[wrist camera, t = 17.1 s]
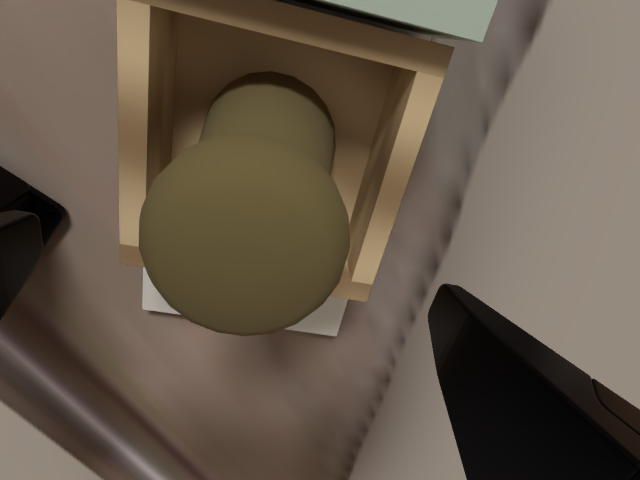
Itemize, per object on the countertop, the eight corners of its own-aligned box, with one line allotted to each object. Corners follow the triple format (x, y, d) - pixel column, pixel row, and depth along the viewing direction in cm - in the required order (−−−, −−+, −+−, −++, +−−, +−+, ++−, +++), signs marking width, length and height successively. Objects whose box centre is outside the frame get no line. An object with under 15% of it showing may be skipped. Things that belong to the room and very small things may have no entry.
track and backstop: (335, 328, 26) (345, 409, 21) (146, 301, 25) (103, 381, 19) (438, -1, 18) (502, -12, 12) (156, -80, 16) (80, -134, 10)
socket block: (354, 253, 23) (366, 301, 19) (153, 218, 21) (119, 263, 17) (419, 41, 18) (454, 47, 14) (161, -26, 16) (116, -41, 12)
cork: (307, 218, 20) (316, 395, 11) (189, 177, 19) (77, 337, 9) (357, 103, 18) (427, 201, 8) (224, 46, 16) (119, 82, 7)
